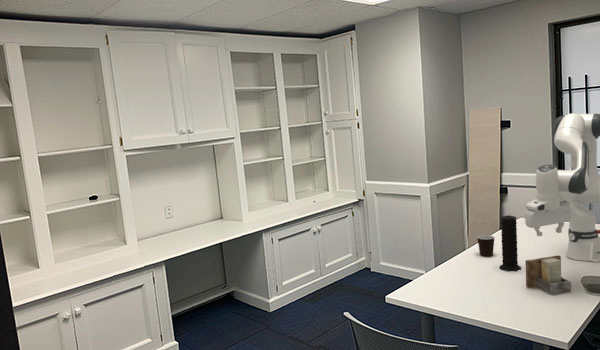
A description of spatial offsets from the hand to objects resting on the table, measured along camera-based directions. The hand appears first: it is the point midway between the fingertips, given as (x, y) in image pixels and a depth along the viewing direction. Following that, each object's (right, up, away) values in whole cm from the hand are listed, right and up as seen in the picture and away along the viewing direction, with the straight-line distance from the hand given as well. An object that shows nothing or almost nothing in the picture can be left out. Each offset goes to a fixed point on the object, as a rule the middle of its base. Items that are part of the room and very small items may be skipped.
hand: (549, 234), depth 199 cm
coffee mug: (-7, -17, +48) cm, 52 cm away
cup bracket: (0, -23, -3) cm, 23 cm away
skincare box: (-1, -23, -3) cm, 23 cm away
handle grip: (-5, -20, +26) cm, 33 cm away
